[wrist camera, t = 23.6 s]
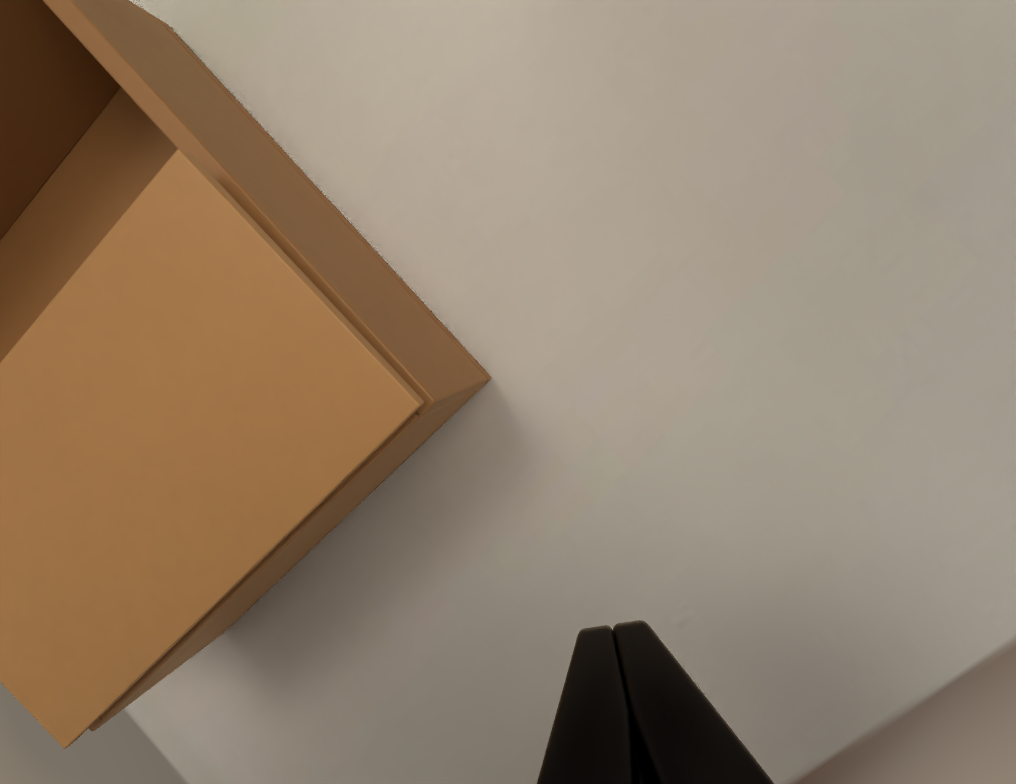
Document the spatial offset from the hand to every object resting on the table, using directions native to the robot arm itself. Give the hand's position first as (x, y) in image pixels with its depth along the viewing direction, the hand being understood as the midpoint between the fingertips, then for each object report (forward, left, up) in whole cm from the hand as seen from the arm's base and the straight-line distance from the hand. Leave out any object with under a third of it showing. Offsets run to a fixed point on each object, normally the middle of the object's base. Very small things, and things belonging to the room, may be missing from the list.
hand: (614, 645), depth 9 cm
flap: (+8, +7, -5) cm, 12 cm away
